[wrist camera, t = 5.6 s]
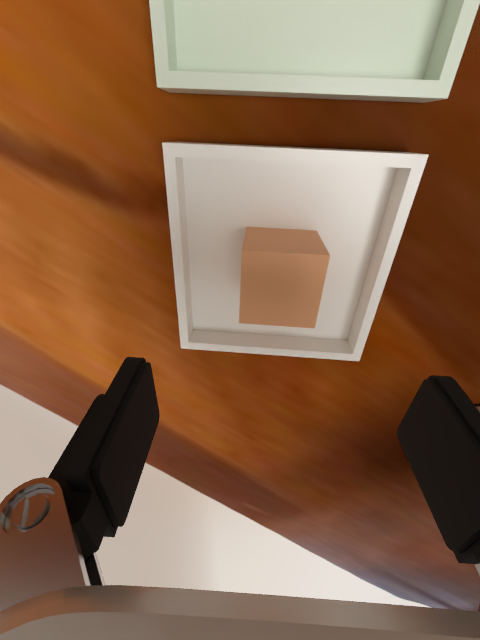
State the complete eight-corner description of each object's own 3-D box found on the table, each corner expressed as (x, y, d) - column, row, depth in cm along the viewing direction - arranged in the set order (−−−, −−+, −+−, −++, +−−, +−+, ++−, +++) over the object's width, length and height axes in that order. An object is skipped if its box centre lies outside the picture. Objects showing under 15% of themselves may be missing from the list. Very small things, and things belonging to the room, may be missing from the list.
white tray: (409, 152, 18) (428, 154, 16) (351, 343, 26) (359, 361, 24) (173, 141, 19) (162, 142, 17) (187, 331, 27) (180, 348, 25)
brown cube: (316, 230, 21) (330, 255, 17) (305, 293, 23) (314, 328, 19) (246, 226, 21) (241, 250, 17) (243, 289, 24) (238, 323, 19)
